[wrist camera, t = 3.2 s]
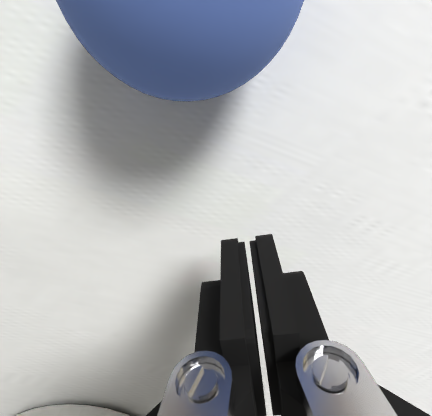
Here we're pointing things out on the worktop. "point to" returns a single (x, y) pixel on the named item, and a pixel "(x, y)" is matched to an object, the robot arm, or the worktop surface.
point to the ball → (182, 41)
